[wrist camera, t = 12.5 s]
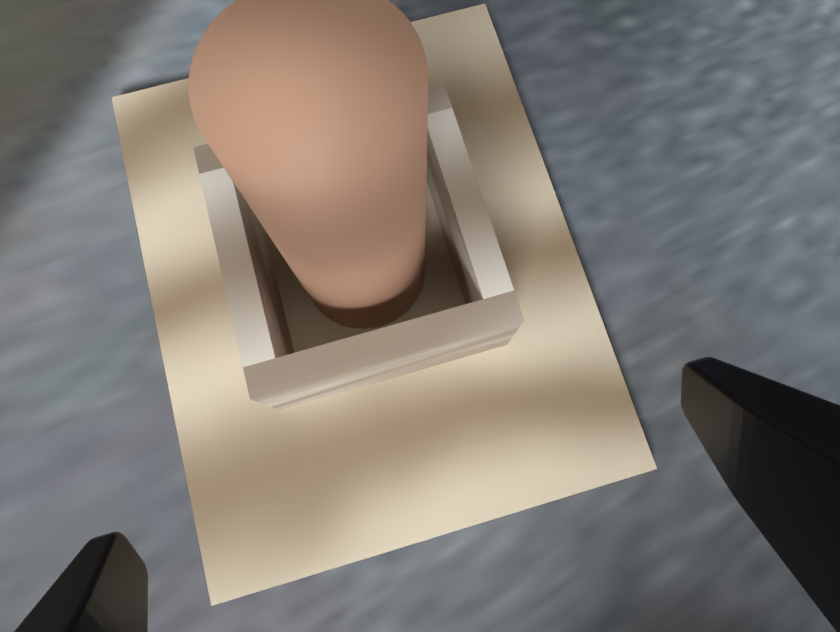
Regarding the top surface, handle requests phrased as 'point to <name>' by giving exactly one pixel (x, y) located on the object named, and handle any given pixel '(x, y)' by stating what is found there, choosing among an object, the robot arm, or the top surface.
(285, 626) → the top surface
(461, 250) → the socket
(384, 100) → the peg
